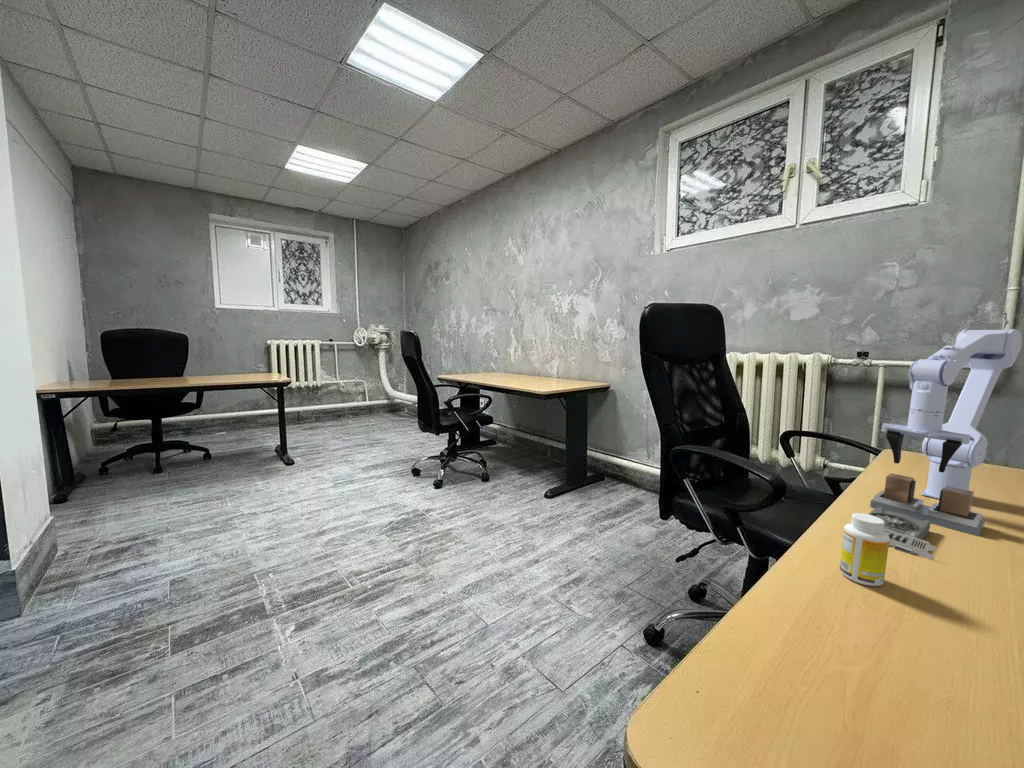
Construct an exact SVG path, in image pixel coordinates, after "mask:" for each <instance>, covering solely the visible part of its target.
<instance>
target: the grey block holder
mask: <svg viewBox="0 0 1024 768" xmlns="http://www.w3.org/2000/svg"><path fill="white" fill-rule="evenodd" d="M884 491H885V489H884V490H883V489H882V490H881V491H880V492H878V493H877V494H874V496H873V499H871V500H870V506H869V507H870V508H872V509H873V508H874V509H875V508H877V507H882V508H883V509H884V510H886V511H891V512H896V513H901V514H905V515H907V516H910V517H913V518H916V519H918V520H921V521H924V520H928V521H930V522H931V524H933V525H936V526H939V527H944V528H948V529H951V530H955V531H959V532H962V533H965V534H969V535H974V536H976V537H980V535H981V533H982V532H983V529H984V528H985V523H986V520H985V519H983V517H984V514H982V513H980V512H976V511H972V507H973V500H974V496H975V495H974V494H975V491H972V490H964V489H959V488H955V487H950V486H946V487H945V488H943V489H942V490H941V492H940V498H939V499H938V502H934V503H933V504H932V505H931V506H929V505H925V504H924V501H925V499H921V498H918V497H914V498H913V500H912V501H911V503H910V504H907V503H903V502H899V501H895V500H891V499H887V498H884Z"/></svg>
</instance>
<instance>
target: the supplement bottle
mask: <svg viewBox="0 0 1024 768" xmlns="http://www.w3.org/2000/svg"><path fill="white" fill-rule="evenodd" d="M884 523H885V522H884V521H883V520H882V519H880V518H878V517H875V516H872V515H869V513H862V512H855V513H854V512H853V513H852V515H851V520H850V523H846V524H845V525H844V527H843V533H842V543H841V551H840V561H839V571H840V573H841V574H842V575H843V576H844V577H845V578H847V579H848V580H851V581H853V582H855V583H858V584H861V585H864V586H869V587H878V586H879V587H880V586H882V585H883V584H884V582H885V576H886V569H887V563H888V562H887V561H888V554H889V547H890V546H889V536H888V534H887V533H886V532H884Z"/></svg>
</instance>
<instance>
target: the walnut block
mask: <svg viewBox="0 0 1024 768" xmlns="http://www.w3.org/2000/svg"><path fill="white" fill-rule="evenodd" d="M916 482H917V481H916V480H915V478H914V477H912V476H911V477H910V476H906V475H901V474H896V473H892V472H891V473H889V474H888V475H886V476H885V484H884V485H885V486H884V498H887V499H891V500H895V501H899V502H903V503H907V504H910V503H911V501H912V500H913V498H915V491H916V490H915V489H916V484H917V483H916Z"/></svg>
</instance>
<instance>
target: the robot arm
mask: <svg viewBox="0 0 1024 768" xmlns="http://www.w3.org/2000/svg"><path fill="white" fill-rule="evenodd" d="M1022 341H1023V335H1022V333H1021V332H1020V331H1019V330H1018V329H1017V328H1011V329H966V328H965V329H962V330H961V331H960V332H959V333H958V334H957V336H956V340H955V344H954V345H944V346H943V347H942V348H941V349H940V350H937V351H936V352H935V353H934V354H932V355H930V356H929V357H927V358H925V359H924V358H919V359H918V360H914V361H913V362H912V363H911V365H910V367H909V369H908V380H909V390H911V397H910V404H909V411H908V417H907V425H905V424H894V423H887V422H884V423H882V424H881V425H882V426H881V432H883V433H884V432H885V433H886V434H885V437H886V440H887V441H888V444H889V446H890V449H891V452H892V455H893V456H892V457H893V463H894V464H896V465H897V464H900V462H901V458H902V457H901V456H902V446H903V441H904V436H907V435H908V436H913V437H919V438H924V439H923V441H922V444H921V449H922V453H923V454H924V456H925V457H927V460H929V468H928V475H927V481H926V488H925V489H924V490H923V491H921V492H920V495H922V496H924V497H930V498H935V499H938V500H939V498H940V492H941V490H942V489H943V488H945V487H946V486H950V487H955V488H959V489H964V490H969V489H970V484H971V477H972V470H973V468H975V467H978V466H980V465H982V464H983V462H984V460H985V459H986V455H987V449H988V445H989V442H988V439H987V437H986V436H985V435H984V434H983V433H981V432H980V431H979V430H977V427H978V425H979V422H980V420H981V418H982V416H983V414H984V411H985V410H986V407H987V404H988V402H989V400H990V397H991V395H992V392H993V390H994V388H995V385H996V383H997V381H998V379H999V376H1000V374H1002V371H1003V370H1005V369H1008V368H1011V367H1013V365H1014V364H1015V362H1016V361H1017V359H1018V356H1019V354H1020V351H1021V349H1022V345H1023V344H1022ZM964 367H967V368H970V372H969V373H968V376H967V378H966V380H965V383H964V386H963V388H962V390H961V392H960V395H959V397H958V399H957V401H956V404H955V406H954V409H953V410H952V413H951V416H950V418H949V419H948V421H947V422H946V423H944V419H945V418H944V416H945V409H946V402H947V396H948V389H949V386H950V385H952V384H953V383H954V381H955V379H956V377H957V376H958V375H959V371H961V370H962V369H963V368H964ZM969 491H970V490H969Z"/></svg>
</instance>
